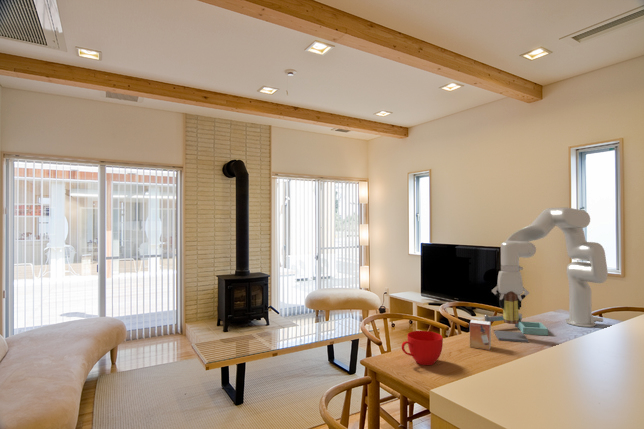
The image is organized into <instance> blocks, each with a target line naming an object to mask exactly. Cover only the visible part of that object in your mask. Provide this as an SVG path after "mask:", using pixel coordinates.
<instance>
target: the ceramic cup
mask: <svg viewBox="0 0 644 429" xmlns="http://www.w3.org/2000/svg"><path fill="white" fill-rule="evenodd" d="M406 336H407V337H406V338H407V341H406V340H405V341H403V342H402V344H401V350H402V352H403V353H404V354H405V355H408V356H410V357H412V359H414V360H415V362H416V363H417V364H419V365H420V366H421V365H422V366H432V365H434V364H435V363H436V362H437V361H438V360H439V359H440V357H441V355H442V350H443V346H444V344H443V341H444V340H443V339H444V338H443V335H441V334H440V333H437V332H434V331H429V330H414V331H410V332H408V333H407V335H406ZM406 345H408V346H407V347H408V350H409V352H408V351H406V348H405V346H406Z"/></svg>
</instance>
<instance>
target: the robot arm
mask: <svg viewBox="0 0 644 429" xmlns="http://www.w3.org/2000/svg"><path fill="white" fill-rule="evenodd" d="M590 223H591V216H590V214H589V213H588V212H587V211H586V210H583V209H577V208H571V207H547V208H545V209H544V210H542V212H540V213H539V215H538V216H537V217H536V218H535V219H534V220H533V221H532V222H531V223H530V224H528V225H527V226H524V227H523V228H520V229H518V230H517V231H514V232H513V233H512V234H511V235H509V236H508V237H507V239H505V241H504V242H502V243H500V270H499V271H498V275H497V284H496V286H495V287H494V288H493V289H491V293H493V294H494V296H496V297H497V298H498V299H499V307H500V308H501V309H503V308H504V300H503V297H504V294H507V293H508V292H510V291H512V292H514V293H515V294H517V296H518V311H519V310H521V308H522V301H523V300H524V299H525V298H526V297H527V296H528V295H529V294H530V292H529V291H528V290H527V289H526V288H525V287H524V285H523V284H524V283H523V278H522V272H520V271H521V270H523V269H524V268H523V266H520V258H523V259H524V258H525V259H526V258H527V259H529V258H531V257H533V256H534V255H535V254H536V251H537V247H536V246H535V244H534V243H533V242H532V241H537V240H541V239H544V238H545V237H547V236H548V235H549V234H550V232H551V231H552V230H554V228H555V227H557V228H558V229H560V230H561V231H562V233H563V234H564V239H565V246H566V253H567V256H568V258H569V259H571V260H574V261H571V262H570V263H568V264H567V266H566V277H567V280H568V297H569V298H568V306H569V310H568V312H569V318H566V319H565V323H566V324H569V325H572V326H576V327H582V328H583V327H584V328H592V327H596V325H597V324H596V322H597V323H598V322H599V323H604V318H603V317H598V316H593V314H592V313H593V312H592V288H591V286H590V284H589V283H593V284H602V283H605V282H606V281H607V280H608V276H609V275H608V274H609V272H608V266H607V259H606V251H605V248H604V247H603V245H601V243H598V242H593V241H587V240H586V235H585V232H584V228H586V227H588V226H589V225H590ZM497 291H498V292H497Z"/></svg>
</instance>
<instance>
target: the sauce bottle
mask: <svg viewBox="0 0 644 429" xmlns="http://www.w3.org/2000/svg"><path fill="white" fill-rule="evenodd" d="M503 300H504V308H503V310H502V313H503V314H502V315H503V318H504V320H503V321H504V323H506V324H508V325H515V324H518V320H519V314H518V313H519V310H518V296H517V294H515V293H514V292H512V291H510V292H508V293H507V294H504V297H503Z"/></svg>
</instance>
